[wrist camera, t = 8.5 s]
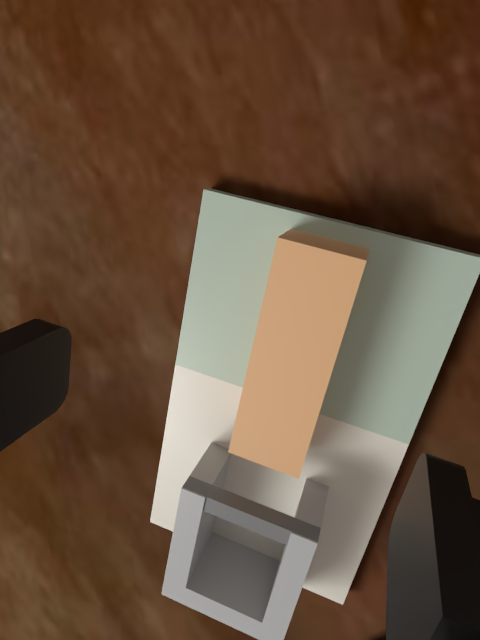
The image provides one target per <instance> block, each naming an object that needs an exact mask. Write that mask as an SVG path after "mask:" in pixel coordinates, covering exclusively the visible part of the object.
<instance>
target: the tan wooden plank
mask: <svg viewBox="0 0 480 640" xmlns="http://www.w3.org/2000/svg"><path fill="white" fill-rule="evenodd" d="M369 251H370V249H369V248H365V247H361V246H357V245H353V244H349V243H345V242H341V241H338V240H334V239H330V238H326V237H322V236H318V235H314V234H310V233H306V232H302V231H298V230H295V229H290V230H288V231H287V232H285V233H284V234H282V235H280V236H279V237H278V238H277V242H276V246H275V251H274V255H273V259H272V264H271V268H270V272H269V277H268V281H267V285H266V290H265V294H264V298H263V303H262V307H261V311H260V316H259V320H258V324H257V329H256V333H255V338H254V342H253V346H252V351H251V355H250V359H249V364H248V368H247V372H246V377H245V381H244V385H243V390H242V394H241V398H240V403H239V407H238V411H237V416H236V420H235V424H234V429H233V433H232V438H231V442H230V446H229V451H228V452H229V453H232V454H234V455H237V456H239V457H242V458H245V459H247V460H250V461H253V462H255V463H258V464H261V465H263V466H266V467H269V468H271V469H274V470H277V471H279V472H282V473H284V474H287V475H290V476H292V477H295V478H298V479H299V476H300V473H301V470H302V467H303V464H304V460H305V457H306V454H307V451H308V448H309V444H310V441H311V438H312V435H313V432H314V428H315V425H316V422H317V419H318V415H319V412H320V409H321V406H322V403H323V399H324V396H325V393H326V390H327V387H328V383H329V380H330V377H331V374H332V371H333V367H334V364H335V361H336V358H337V354H338V351H339V348H340V345H341V342H342V338H343V335H344V332H345V329H346V326H347V322H348V319H349V316H350V313H351V309H352V306H353V303H354V300H355V297H356V293H357V290H358V287H359V284H360V281H361V277H362V274H363V271H364V268H365V265H366V261H367V258H368V254H369Z"/></svg>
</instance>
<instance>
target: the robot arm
mask: <svg viewBox="0 0 480 640" xmlns="http://www.w3.org/2000/svg"><path fill="white" fill-rule="evenodd" d="M70 356H71V334H70V332H69V330H68V329H66V328H64V327H61V326H58V325H55V324H52V323H49V322H47V321H44V320H41V319H33V320H31V321H28V322H26V323H23V324H21V325H19V326H16V327H14V328H11V329H9V330H7V331H4V332H2V333H0V451H1V450H3V449H4V448H6V447H7V446H8V445H10V444H11V443H13V442H14V441H15V440H17V439H18V438H20V437H21V436H22V435H24V434H25V433H27V432H28V431H29V430H31V429H32V428H34V427H35V426H36V425H38V424H39V423H41V422H42V421H43V420H45V419H46V418H47V417H49V416H50V415H52V414H53V413H54V412H56V411H57V410H58V409H59V407H60V406H61V405H62V403H63V401H64V400H65V397H66V395H67V392H68V386H69V371H70ZM386 640H480V500H477V499H475V498H472V496H471V492H470V487H469V483H468V478H467V474H466V470H465V468H464V467H463V466H461V465H458V464H455V463H452V462H449V461H446V460H444V459H441V458H438V457H435V456H432V455H429V454H426V453H422V454H421V455H420V457H419V458H418V460H417V462H416V464H415V467H414V469H413V472H412V474H411V476H410V479H409V481H408V483H407V486H406V488H405V490H404V493H403V495H402V498H401V500H400V502H399V505H398V507H397V509H396V512H395V514H394V517H393V521H392V524H391V528H390V533H389V540H388V566H387V611H386Z"/></svg>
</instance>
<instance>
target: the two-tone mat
mask: <svg viewBox="0 0 480 640" xmlns="http://www.w3.org/2000/svg"><path fill="white" fill-rule="evenodd" d="M290 229H295V230H298V231H302V232H306V233H310V234H314V235H318V236H322V237H326V238H330V239H334V240H338V241H341V242H345V243H349V244H353V245H357V246H361V247H365V248H369V249H370V251H369V254H368V258H367V261H366V265H365V268H364V271H363V274H362V277H361V281H360V284H359V287H358V290H357V293H356V297H355V300H354V303H353V306H352V309H351V313H350V316H349V319H348V322H347V326H346V329H345V332H344V335H343V338H342V342H341V345H340V348H339V351H338V354H337V358H336V361H335V364H334V367H333V371H332V374H331V377H330V380H329V383H328V387H327V390H326V393H325V396H324V399H323V403H322V406H321V409H320V412H319V415H318V419H317V422H316V425H315V428H314V432H313V435H312V438H311V441H310V444H309V448H308V451H307V454H306V457H305V460H304V464H303V467H302V470H301V473H300V476H299V479H298V478H295V477H292V476H290V475H287V474H284V473H282V472H279V471H277V470H274V469H271V468H269V467H266V466H263V465H261V464H258V463H255V462H253V461H250V460H247V459H245V458H242V457H239V456H237V455H234V454H232V453H229V452H228V451H229V446H230V442H231V438H232V433H233V429H234V424H235V420H236V416H237V411H238V407H239V403H240V398H241V394H242V390H243V385H244V381H245V377H246V372H247V368H248V364H249V359H250V355H251V351H252V346H253V342H254V338H255V333H256V329H257V324H258V320H259V316H260V311H261V307H262V303H263V298H264V294H265V290H266V285H267V281H268V277H269V272H270V268H271V264H272V259H273V255H274V251H275V246H276V242H277V238H278V237H279V236H280V235H282V234H284V233H285V232H287V231H288V230H290ZM479 274H480V255H479V254H475V253H471V252H467V251H463V250H459V249H455V248H451V247H447V246H443V245H439V244H435V243H431V242H427V241H422V240H418V239H414V238H410V237H406V236H402V235H398V234H394V233H390V232H386V231H382V230H378V229H374V228H370V227H366V226H362V225H357V224H353V223H349V222H345V221H341V220H337V219H333V218H329V217H325V216H321V215H317V214H313V213H309V212H305V211H301V210H297V209H292V208H288V207H284V206H280V205H276V204H272V203H268V202H264V201H260V200H256V199H252V198H248V197H244V196H240V195H236V194H231V193H227V192H223V191H219V190H215V189H211V188H210V189H204V190H203V197H202V203H201V209H200V215H199V222H198V228H197V234H196V240H195V246H194V253H193V259H192V265H191V271H190V277H189V284H188V290H187V296H186V302H185V308H184V315H183V321H182V327H181V333H180V340H179V346H178V352H177V358H176V364H175V371H174V377H173V383H172V389H171V395H170V402H169V408H168V414H167V420H166V426H165V433H164V439H163V445H162V451H161V457H160V464H159V470H158V476H157V482H156V489H155V495H154V501H153V507H152V513H151V520H150V522H152V523H154V524H156V525H159V526H161V527H163V528H166V529H168V530H170V531H173V535H172V540H171V546H170V551H169V556H168V562H167V567H166V572H165V578H164V583H163V588H162V593H161V594H162V595H164V596H166V597H169V598H171V599H173V600H175V601H177V602H179V603H181V604H184V605H186V606H188V607H190V608H192V609H194V610H197V611H199V612H201V613H203V614H205V615H207V616H209V617H212V618H214V619H216V620H218V621H220V622H222V623H224V624H227V625H229V626H231V627H233V628H235V629H237V630H239V631H242V632H244V633H246V634H248V635H250V636H252V637H254V638H257V639H259V640H284V637H285V634H286V631H287V628H288V626H289V623H290V620H291V617H292V614H293V612H294V609H295V606H296V603H297V600H298V598H299V595H300V592H301V589H302V587H303V588H305V589H307V590H310V591H312V592H314V593H317V594H319V595H321V596H324V597H326V598H328V599H331V600H333V601H335V602H338V603H340V604H342V605H343V603H344V600H345V598H346V596H347V593H348V591H349V588H350V586H351V583H352V581H353V579H354V576H355V574H356V571H357V569H358V567H359V564H360V562H361V559H362V557H363V554H364V552H365V550H366V547H367V545H368V542H369V540H370V537H371V535H372V533H373V530H374V528H375V525H376V523H377V521H378V518H379V516H380V513H381V511H382V508H383V506H384V504H385V501H386V499H387V496H388V494H389V491H390V489H391V487H392V484H393V482H394V479H395V477H396V475H397V472H398V470H399V467H400V465H401V462H402V460H403V458H404V455H405V453H406V450H407V448H408V445H409V443H410V441H411V438H412V436H413V433H414V431H415V428H416V426H417V424H418V421H419V419H420V416H421V414H422V412H423V409H424V407H425V404H426V402H427V399H428V397H429V395H430V392H431V390H432V387H433V385H434V382H435V380H436V378H437V375H438V373H439V370H440V368H441V366H442V363H443V361H444V358H445V356H446V353H447V351H448V349H449V346H450V344H451V341H452V339H453V336H454V334H455V332H456V329H457V327H458V324H459V322H460V320H461V317H462V315H463V312H464V310H465V307H466V305H467V303H468V300H469V298H470V295H471V293H472V290H473V288H474V286H475V283H476V281H477V278H478V276H479Z"/></svg>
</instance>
